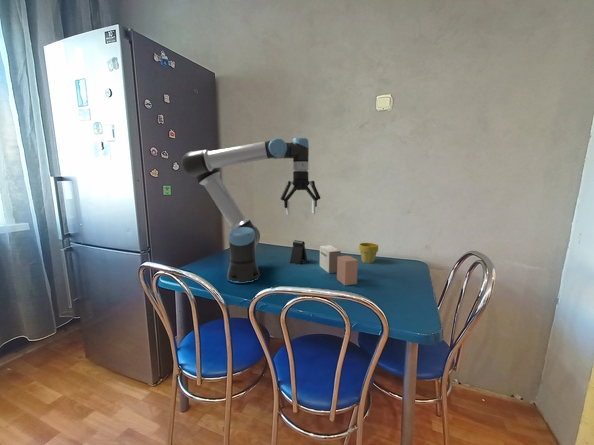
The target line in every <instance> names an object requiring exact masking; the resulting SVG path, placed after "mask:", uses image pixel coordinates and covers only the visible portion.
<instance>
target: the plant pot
mask: <svg viewBox="0 0 594 445" xmlns="http://www.w3.org/2000/svg"><path fill="white" fill-rule="evenodd" d="M358 250H359V252H360V259H361V262H363V263H365V264H373V263H375V260H376V256H377V253H378V251H379V244H377V243H373V242H361V243H359V245H358Z"/></svg>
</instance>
